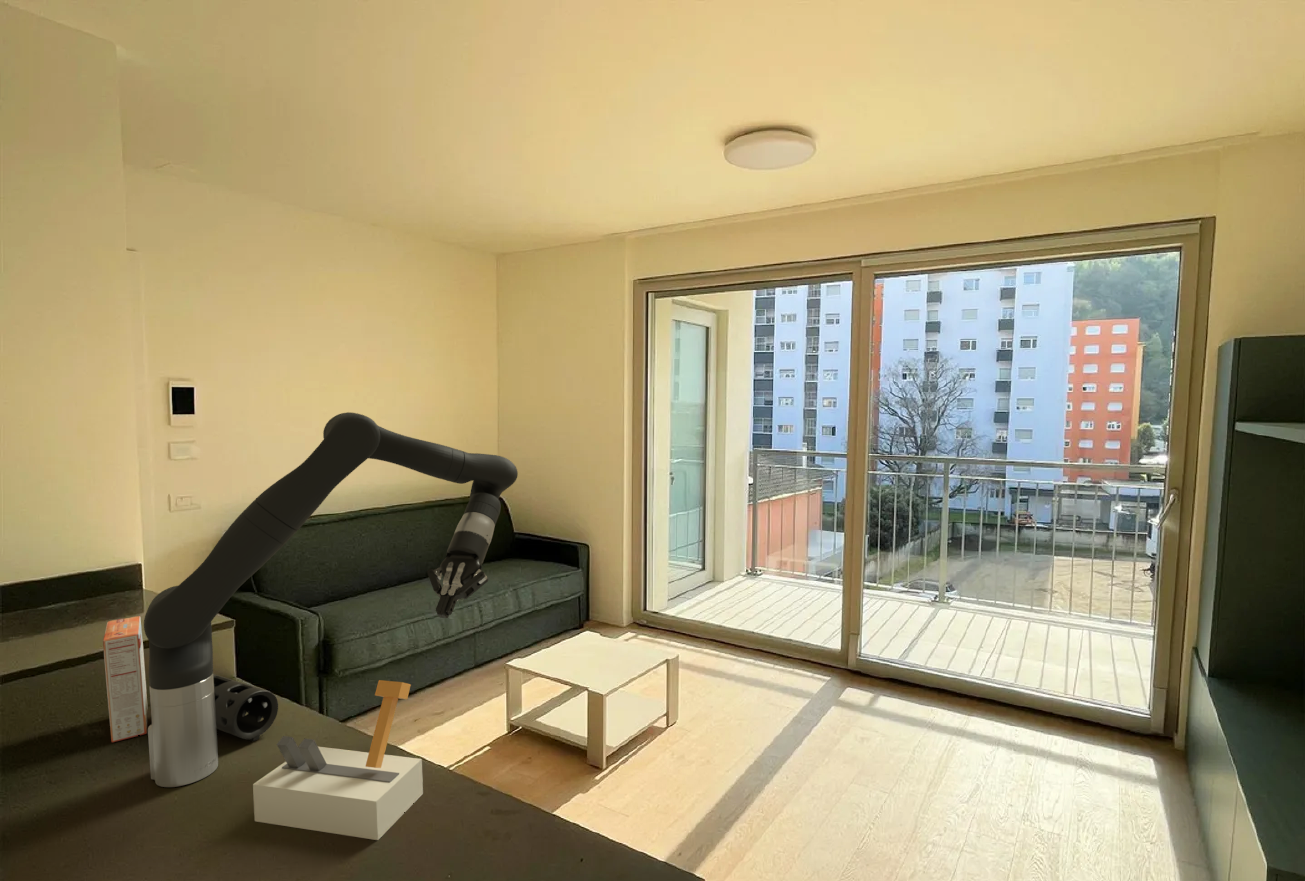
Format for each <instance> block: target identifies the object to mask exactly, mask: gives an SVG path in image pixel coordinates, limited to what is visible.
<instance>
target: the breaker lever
mask: <svg viewBox="0 0 1305 881" xmlns="http://www.w3.org/2000/svg"><path fill="white" fill-rule="evenodd" d="M411 686H412V684H410V683H407V682H403V681H391V680H382V679H381V680H380V679H379V680H378V682H377V686H376V690H375V693H374V696H376V697H381V698H382V701H381V705H380V709H379V713H378V717H377V721H376V724H375V729H374V732H373V736H372V740H371V743H370V748H369V751H368V753H369V755H368V758H367V762H366V767H374V768H381V766H382V762H383V758H384V755H386V754H385V752H386V749H387V746H388V742H389V737H390V734H391V730H392V725H393V721H394V717H395V713H396V710H397V705H398V702H399V699H400V700H408V698H409V693H410V689H411Z"/></svg>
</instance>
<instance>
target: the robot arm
mask: <svg viewBox="0 0 1305 881" xmlns="http://www.w3.org/2000/svg"><path fill="white" fill-rule="evenodd" d="M322 433H323V436H322V437H323V440H321V442H320V444H318V446H317V447H316V448H315V449H314V450H313V451H312V452H311V454H310V455H309V456H308V457H307V458H305V460H304V461H302V463H301V464H300V465H299V466H297V467H296V468H294V469H293V470H292V471H290V472H288V473H287V474H285V475H284V476H282V477H281V478H279V479H278V480H277V481H276V482H274V483H273V484H272V485H270V486H268V488H266V489H265V490H263V492H262V493H260V494H259V495H258V496H256V498H255V499H254V500H252V502H251V503H250V504H249V505H248V506H247V507H246V508H245V509H244V510H243V511H242V512H241V513H240V514H239V515H238V517H237V518H235V520H234V521H233V522H232V523H231V524H230V526H229V527H228V528H227V529H226V530H225V532H224V533H223V534H222V536H221V537H220V538H219V540H218V542H216V544H215V546H214V547H213V548H212V550H211V551H210V552H209V554H208V556H207V557H206V558H205V560H204V561H203V562H202V563H201V564H200V565H199V566H198V567H197V568H196V569H195V570H194V571H192V573H191V574H189V576H187V577H186V578H185V579H184V580H183V581H182V582H181V583H180V584H178V585H174V586H171V587H168V588H166V589H164V590H162V591H161V592H159V593H158V594H156V596H155V597H154V598H153V599H152V600H151V602H150V604H149V605H148V607H147V610H146V612H145V615H144V618H143V631H144V634H145V636H146V638H147V639H148V648H149V650H148V652H149V653H148V655H149V659H148V660H149V661H148V683H149V698H150V699H149V700H150V701H149V702H150V715H151V716H150V717H151V718H150V719H151V724H150V725H149V726H147V736H148V751H149V752H148V754H149V768H150V769H149V770H150V780H154V781H155V782H154V783H155V784H156V785H157V786H158V787H162V788H163V787H164V788H175V787H181V786H185V785H190V784H192V783H195V782H198V781H200V780H202V779H205V778H206V777H208V776H210V775H211V774H212V773H214V772H215V771H216V770H217V769H218V766H219V755H218V735H217V734H218V733H217V732H218V731H217V729H216V713H215V696H214V680H213V674H214V656H213V654H214V651H213V649H214V647H213V632H212V631H213V630H212V622H213V620H214V619H215V618H216V617H217V615H218V614H219V612H220V611H221V610H222V609H223V607H224V606H225V605H226V603H227V602H229V600H230V598H231V597H232V596H233V595H234V594H235V593H236V591H238V589H239V588H240V587H241V586H242V585H243V584H245V582H246V581H248V579H250V578H251V577H252V576H254V574H255V573H257V571H258V570H260V569H261V568H263V566H264V565H265V564H266V563H267V562H268V561H269V560H270V559H271V558H272V557H273V556H275V555H276V553H277V552H278V551H280V550H281V549H282V548H283V547H284V545H285V544H287V542H289V540H290V539H291V538H292V537H293V536H294V535H295V534H296V533H297V532H298V531H299V530H300V529H301V528H302V527H303V525H304V524H305V523H306V521H308V519H309V518H311V516H312V515H313V514H314V512H316V511H317V509H318V508H319V507H320V506H321V505H322V503H323V502H324V501H326V498H327V497H328V496H329V495H330V494H331V492H332V491H333V490H334V489H335V488H336V487H337V486H338V485H339V484H340V483H341V482H342V481H343V480H345V479H346V478H347V477H348V476H349V475H350V474H352V473H353V472H354V471H355V470H356V469H357V468H358V467H360V465H362V464H363V463H364V462H366V461H367V460H368V459H372V460H377V461H381V462H387V463H391V464H394V465H398V466H401V467H404V468H406V469H410V470H413V471H415V472H418V473H420V474H423V475H427V476H430V477H433V478H436V479H440V480H443V481H447V482H451V483H455V484H467V483H469V482H472V484H471V487H470V488H471V489H470V493H469V501H468V503H467V505H466V508H465V510H464V513H463V515H462V517H461V519H460V520H459V522H458V524H457V526H456V528H455V529H454V530H455V531H454V533H453V536H452V538H451V540H450V542H449V545H448V548H447V550H446V555H445V558H444V560H442V562H441V563H440V566H439V567H437V568H435V569H433V568H429V569H428V570H426V572H427V576H428V578H429V580H430V584H431V586H432V589H433V591H434V593H435V594H436V595H437V596H438V597H439V600H438V602H437V605H436V608H435V612H436V615H437V617H439V618H440V619H441V618H442V619H449V617H450V616H451V615H453V614H452V613H453V612H454V608H455V607H456V604H457V602H458V601H459V600H461V599H463V600H467V599H468V598H469V597H471V596H472V595H473V594H474V593H475V592H477V591H478V590H479V589H480V588H482V587H483V586H484V585H485V584H486V583H488V581H489V578H488V576H487V575H486V573H485V572H484V571H483V570H482V569H483V567H482V565H483V564H484V560H485V558H486V555H487V552H488V549H489V547H490V544H491V542H492V539H493V536H494V531H495V526H496V524H497V521H498V519H499V516H500V513H501V507H502V506H501V500H500V497H501V494H503V492H504V491H506V490H508V489H509V488H510V487H511V486H513V484H514V483H515V482H516V481H517V478H518V477H519V476H518V475H519V474H518V473H519V472H518V469H517V466H516V465H515V463H513V462H512V461H511V460H510V459H509V458H506V457H504V456H501V455H497V454H489V453H477V452H476V453H472V452H467V451H463V450H461V449H457V448H454V447H450V446H447V445H444V444H440V443H436V442H433V441H427V440H422V439H418V438H414V437H411V436H407V435H404V434H401V433H397V432H395V431H391V430H389V429H386V428H385V427H382V426H379V425H378V424H377V423H376V422H375V420H374V419H372V418H370V417H368V416H367V415H363V414H361V413H358V412H357V413H356V412H349V411H348V412H342V413H338V414H336V415H335V416H333V417H332V418H330V419H329V420H328V422H326V424H325V426H324V427H323V432H322ZM442 575H443V576H442ZM442 577H443V581H442V583H441V580H442Z"/></svg>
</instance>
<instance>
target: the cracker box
mask: <svg viewBox="0 0 1305 881" xmlns="http://www.w3.org/2000/svg"><path fill="white" fill-rule="evenodd" d="M141 620H142V618H141V616H140V615H139V616H138V615H137V616H131V617H127V618H119V619H113V620H109V621H107V623H106V625H105V626H106V627H105V632H104V636H103V639H102V640H103V641H102V643H103V644H102V645H103V647H102V648H103V658H104V659H103V660H104V669H105V671H104V672H105V673H104V674H105V683H106V694H107V706H108V716H109V726H110V727H109V728H110V729H109V730H110V739H111V740H110V741H111V743H115V742H121V741H123V740H124V741H125V740H127V739H131V738H132V739H133V738H134V737H139V736H138V735H140V736H143V735H146V734H148V698H147V697H148V696H147V680H146V679H147V678H146V668H145V667H146V666H145V654H144V643H143V631H142V622H141Z"/></svg>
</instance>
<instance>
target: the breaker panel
mask: <svg viewBox="0 0 1305 881" xmlns="http://www.w3.org/2000/svg"><path fill="white" fill-rule="evenodd" d="M276 747H277V748H278V750H279V751H280V754H281V755H282V757H283V758H284V760H285V761H284V762H283V763H282V764H280V765H278V766H277V767H276V768H273V770H271V771H269V772H268V773H267V774H265V775H264V776H263V777H261V778H260V779H258V780H257V781H255V782H254V783H253V784H252V790H253V791H252V792H253V795H252V796H253V813H254V815H253V816H254V822H258V823H263V824H264V823H265V824H268V825H269V824H270V825H277V826H282V827H283V826H285V827H291V828H297V829H304V830H309V831H310V830H311V831H317V832H323V833H329V834H335V835H336V834H337V835H342V836H347V837H356V838H360V839H369V840H375V841H379V840H380V839H381V837H383V836H384V835H385V834H386V833H387V831H388V830H389V829H390V828H392V826H393V825H395V823H396V822H398V820H399V819H400V818H401V817H402V816H403V815H404V814H405V813H406V812H407V811H408V810H409V809H410V808H411V807H412V806H413V805H414V804H415V803H416V802H417V800H418V799H419V798H420V797H422V795H423V794H424V788H423V787H424V785H423V784H424V782H423V759H422V758H415V757H408V756H401V755H391V754H384V758H383V762H382V766H381V768H374V767H366V762H367V758H368V755H369V751H368V752H367V751H359V750H348V749H342V748H341V749H340V748H335V747H334V748H333V747H332V748H331V747H324V746H318V744H317V742H316V739H312V738H303V740H302V741H301V742H300V743H299V745H298V744H297V742H296V740H295V738H294V737H293V736H287V735H283V736H281V738H280V739H279V741H278V742H277V743H276ZM413 803H414V804H413ZM404 812H405V813H404Z"/></svg>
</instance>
